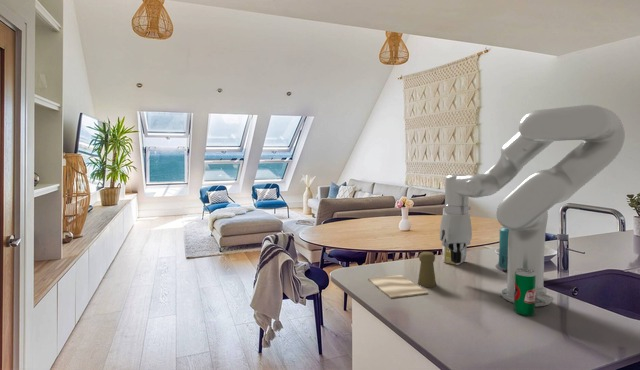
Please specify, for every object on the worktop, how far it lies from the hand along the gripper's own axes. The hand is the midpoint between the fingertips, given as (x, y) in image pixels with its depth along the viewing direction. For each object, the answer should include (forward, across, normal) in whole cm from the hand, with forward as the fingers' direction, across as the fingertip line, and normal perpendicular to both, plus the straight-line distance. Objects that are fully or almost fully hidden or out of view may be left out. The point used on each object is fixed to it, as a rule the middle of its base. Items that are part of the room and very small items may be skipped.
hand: (455, 262), depth 124 cm
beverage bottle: (+7, -26, -4) cm, 27 cm away
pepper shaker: (+7, +11, 0) cm, 13 cm away
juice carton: (+7, -14, -20) cm, 25 cm away
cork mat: (+7, +22, -1) cm, 23 cm away
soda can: (+7, -2, +28) cm, 29 cm away
